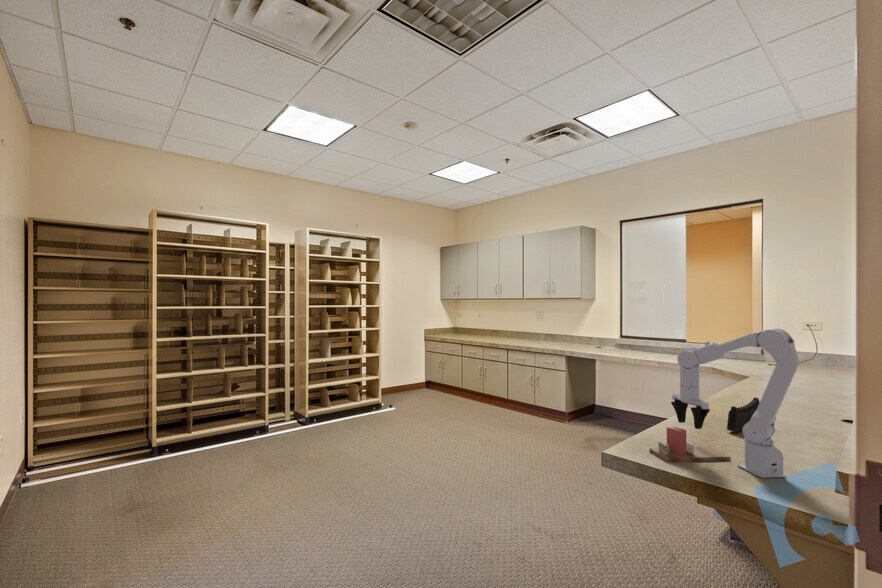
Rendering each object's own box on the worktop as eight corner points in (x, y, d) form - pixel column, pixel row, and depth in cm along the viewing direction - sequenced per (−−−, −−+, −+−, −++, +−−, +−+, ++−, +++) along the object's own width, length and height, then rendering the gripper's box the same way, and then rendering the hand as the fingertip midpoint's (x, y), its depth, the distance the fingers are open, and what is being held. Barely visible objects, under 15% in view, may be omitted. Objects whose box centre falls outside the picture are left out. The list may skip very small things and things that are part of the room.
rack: (708, 450, 152) (708, 438, 152) (730, 460, 142) (730, 447, 142) (649, 451, 149) (649, 439, 150) (667, 462, 140) (667, 449, 140)
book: (686, 454, 144) (686, 430, 144) (680, 455, 142) (680, 431, 142) (672, 449, 148) (672, 426, 148) (666, 450, 147) (666, 427, 147)
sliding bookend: (685, 449, 148) (685, 440, 148) (693, 453, 144) (693, 444, 144) (682, 449, 147) (682, 440, 148) (690, 453, 143) (690, 444, 144)
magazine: (733, 412, 169) (760, 383, 186) (724, 411, 172) (751, 382, 189) (738, 452, 172) (764, 419, 189) (729, 450, 174) (755, 418, 191)
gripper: (716, 389, 142) (717, 430, 142) (684, 381, 156) (684, 419, 156) (697, 390, 141) (698, 431, 140) (667, 382, 155) (667, 420, 155)
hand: (689, 425), depth 148 cm, fingers open, 7 cm apart
